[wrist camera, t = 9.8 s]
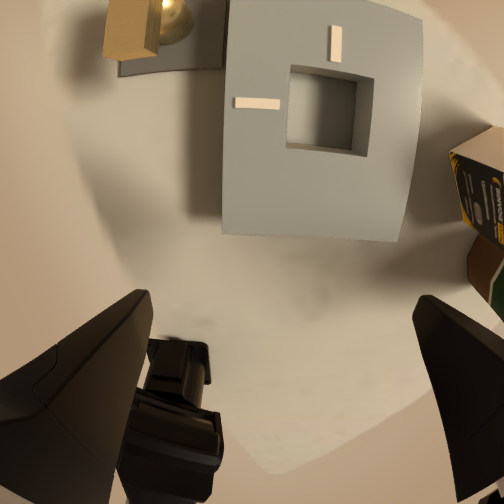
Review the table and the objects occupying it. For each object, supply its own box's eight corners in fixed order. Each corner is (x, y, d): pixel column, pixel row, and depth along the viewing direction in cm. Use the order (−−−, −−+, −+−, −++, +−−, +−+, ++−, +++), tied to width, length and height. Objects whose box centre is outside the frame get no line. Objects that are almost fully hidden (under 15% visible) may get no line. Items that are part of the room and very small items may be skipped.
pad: (222, 68, 15) (221, 67, 15) (122, 76, 15) (120, 76, 15) (228, -17, 12) (227, -20, 12) (130, -6, 12) (128, -7, 12)
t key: (198, -18, 12) (175, -69, 5) (191, 68, 15) (157, 46, 9) (153, -13, 12) (112, -55, 5) (144, 72, 15) (91, 58, 9)
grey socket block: (380, 225, 21) (398, 243, 18) (225, 216, 20) (221, 235, 18) (401, 28, 13) (423, 19, 10) (234, -1, 13) (231, -20, 10)
